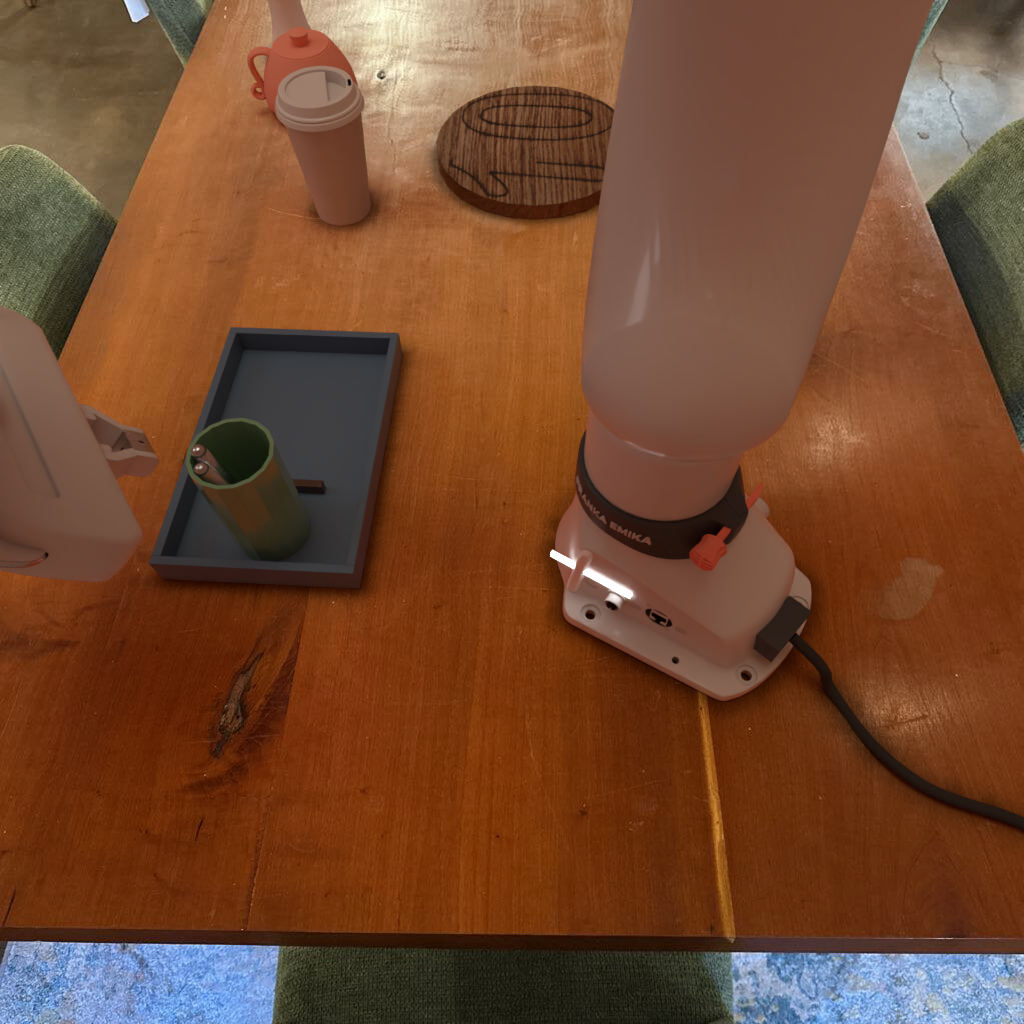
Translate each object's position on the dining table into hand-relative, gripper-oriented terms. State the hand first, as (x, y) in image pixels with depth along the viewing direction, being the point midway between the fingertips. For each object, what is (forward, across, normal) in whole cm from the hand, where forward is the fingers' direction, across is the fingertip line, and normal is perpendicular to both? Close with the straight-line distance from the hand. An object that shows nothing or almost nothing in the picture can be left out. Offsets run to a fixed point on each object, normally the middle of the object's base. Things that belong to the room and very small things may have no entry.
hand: (147, 453), depth 50 cm
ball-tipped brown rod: (+18, +1, +8) cm, 19 cm away
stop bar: (+20, +6, +6) cm, 21 cm away
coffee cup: (+36, +40, -12) cm, 54 cm away
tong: (+17, +4, +8) cm, 19 cm away
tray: (+22, +9, +4) cm, 24 cm away
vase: (+43, +74, -19) cm, 88 cm away
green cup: (+18, +2, +8) cm, 20 cm away
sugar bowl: (+40, +61, -16) cm, 74 cm away
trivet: (+51, +35, -31) cm, 69 cm away
